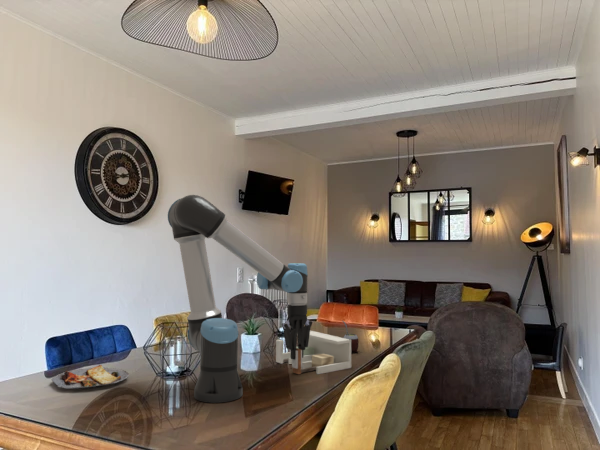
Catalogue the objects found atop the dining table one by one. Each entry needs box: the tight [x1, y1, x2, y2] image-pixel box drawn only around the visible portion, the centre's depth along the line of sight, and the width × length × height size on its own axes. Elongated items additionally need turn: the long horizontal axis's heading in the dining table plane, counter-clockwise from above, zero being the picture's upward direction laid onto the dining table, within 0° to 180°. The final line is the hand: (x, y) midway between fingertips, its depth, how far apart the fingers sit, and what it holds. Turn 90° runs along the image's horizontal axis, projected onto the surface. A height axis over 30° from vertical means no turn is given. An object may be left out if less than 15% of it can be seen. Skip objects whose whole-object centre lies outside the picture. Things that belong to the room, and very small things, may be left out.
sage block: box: [275, 339, 314, 364], centre depth 195 cm, size 16×6×9 cm, turn 127°
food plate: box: [51, 364, 130, 390], centre depth 161 cm, size 25×23×4 cm
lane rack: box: [283, 330, 352, 375], centre depth 190 cm, size 17×28×11 cm, turn 37°
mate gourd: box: [342, 320, 359, 355], centre depth 212 cm, size 8×8×15 cm
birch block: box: [292, 348, 334, 375], centre depth 178 cm, size 16×6×9 cm, turn 127°
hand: (297, 367), depth 174 cm, fingers closed on birch block
